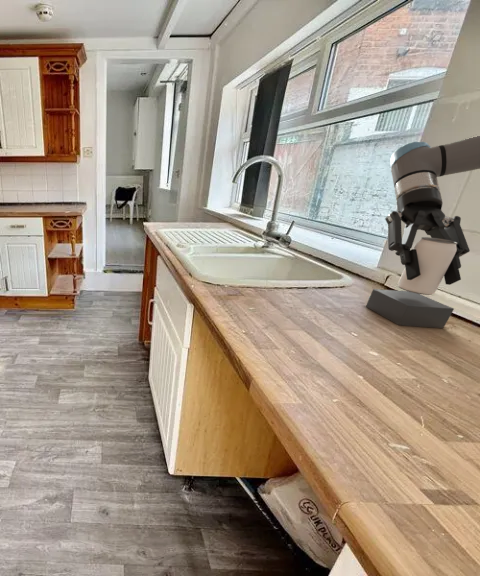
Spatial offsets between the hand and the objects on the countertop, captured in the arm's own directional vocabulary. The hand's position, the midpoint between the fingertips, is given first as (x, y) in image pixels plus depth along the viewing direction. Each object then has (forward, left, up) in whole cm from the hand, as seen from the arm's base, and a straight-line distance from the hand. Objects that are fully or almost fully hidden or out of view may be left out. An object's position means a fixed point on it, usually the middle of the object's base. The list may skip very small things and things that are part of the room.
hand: (433, 279), depth 67 cm
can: (0, -4, -4) cm, 5 cm away
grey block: (0, -4, -11) cm, 12 cm away
